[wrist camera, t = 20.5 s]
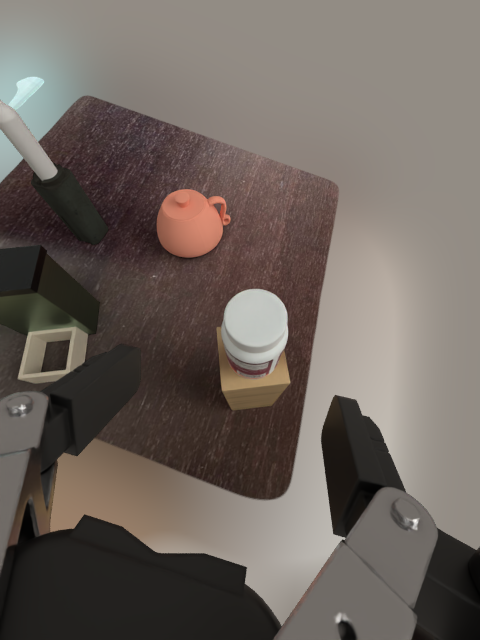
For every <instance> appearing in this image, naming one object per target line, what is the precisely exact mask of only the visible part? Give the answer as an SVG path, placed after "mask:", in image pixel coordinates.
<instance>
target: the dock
mask: <svg viewBox="0 0 480 640" xmlns="http://www.w3.org/2000/svg"><path fill="white" fill-rule="evenodd" d="M63 340H70V347H69V353H68V359H67V366H66V370H60V371H51V372H42V373H41V369H42V364H43V359H44V354H45V349H46V344H47V342H54V341H63ZM87 340H88V334H86V333H85V332H83V331H82V330H80V329H79V328H77V327H70V328H61V329H51V330H42V331H33V332H28V337H27V341H26V345H25V350H24V354H23V358H22V363H21V367H20V371H19V376H18V379H19V380H23V381H27V382H31V383H44V382H53V381H57V380H59V379H60V378H62V377H63V376H65V375H66V374H68V373H69V372H71V371H73V370H74V369H75V368H77V367H78V366H80V365H82V364H83V363H84V362H85V355H86V348H87Z"/></svg>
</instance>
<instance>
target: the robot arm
mask: <svg viewBox="0 0 480 640" xmlns="http://www.w3.org/2000/svg"><path fill="white" fill-rule="evenodd" d="M140 380H141V350H140V348H138V347H134V346H129V345H125V344H119V345H118V346H116V347H115V348H114V349H112V350H111V351H109V352H108V353H107V352H105V353H102V354H99V355H96V356H94V357H92V358H90V359H89V360H87V361H86V362H84V363H83V364H82V365H80V366H78V367H77V368H75V369H74V370H73V371H71V372H69V373H68V374H66V375H65V376H63V377H62V378H60V379H59V380H57V381H56V382H54V383H53V384H51V385H50V386H48V387H47V388H45V389H44V390H42V391H41V392H39V391H24V392H19V393H15V394H12V395H9V396H7V397H4V398H2V399H1V400H0V640H480V547H479V548H478V549H477V550H475V549H473V548H471V547H470V546H468V545H466V544H464V543H462V542H461V541H459V540H457V539H455V538H453V537H452V536H450V535H448V534H446V533H444V532H443V531H441V530H440V529H438V528H437V527H436V524H435V522H434V520H433V518H432V517H431V515H430V514H429V512H428V511H427V510H426V509H425V508H424V506H422V504H420V503H419V502H418V501H417V500H416V499H415V498H413V497H412V496H410V495H409V494H407V493H406V491H405V488H404V486H403V484H402V481H401V479H400V476H399V474H398V472H397V470H396V467H395V465H394V462H393V460H392V458H391V455H390V454H389V453H388V452H389V451H388V448H387V446H386V444H385V443H384V439H383V436H382V434H381V432H380V429H379V428H378V427H377V425H376V424H375V423H374V422H373V421H372V420H371V419H370V417H367V416H363V415H362V414H361V411H360V408H359V405H358V403H357V401H356V400H354V399H350V398H346V397H341V396H337V395H335V396H334V397H333V400H332V402H331V405H330V408H329V411H328V414H327V417H326V419H325V422H324V425H323V429H322V436H321V444H322V451H323V459H324V466H325V474H326V482H327V489H328V497H329V504H330V512H331V520H332V527H333V534H335V535H338V536H342V537H345V538H346V539H345V540H342V541H341V542H340V543H339V544H338V546H337V547H336V548H335V550H334V552H333V553H332V554H331V556H330V557H329V559H328V560H327V562H326V563H325V565H324V566H323V567H322V569H321V570H320V572H319V573H318V575H317V576H316V578H315V579H314V581H313V582H312V583H311V585H310V586H309V588H308V589H307V591H306V592H305V594H304V595H303V597H302V598H301V599H300V601H299V602H298V604H297V605H296V607H295V608H294V610H293V611H292V613H291V614H290V616H289V617H288V618H287V620H286V621H285V623H284V624H283V626H281V624H280V622H279V621H278V619H277V618H276V616H275V615H274V613H273V612H272V610H271V609H270V608H269V606H268V605H267V604H266V603H265V602H264V600H263V599H262V598H261V597H260V596H259V595H258V594H257V593H256V592H255V591H254V590H252V589H251V588H250V587H249V586H247V585H246V584H245V577H246V569H247V567H244V566H241V565H238V564H235V563H232V562H229V561H226V560H223V559H220V558H217V557H214V556H211V555H208V554H204V553H203V554H202V553H201V554H199V553H198V554H197V553H196V554H195V553H190V554H189V553H188V554H187V553H185V554H184V553H182V554H181V553H180V554H177V553H168V554H167V553H165V554H164V553H157V552H155V551H153V550H152V549H150V548H149V547H148V546H146V545H145V544H144V543H143V542H141V541H140V540H139V539H137V538H136V537H135V536H134V535H132V534H131V533H129V532H128V531H127V530H126V529H124V528H123V527H122V526H119V525H115V524H112V523H109V522H106V521H103V520H100V519H97V518H94V517H91V516H87V515H84V516H83V517H82V518H81V520H80V521H79V523H78V524H77V525H76V527H75V528H74V529H66V530H58V531H55V532H50V519H51V510H52V503H53V495H54V488H55V481H56V473H57V466H58V463H57V459H58V458H59V457H60V456H61V455H62V454H63V453H68V454H71V455H75V456H78V455H79V454H80V453H81V452H82V451H83V449H84V448H85V447H86V446H87V445H88V444H89V443H90V442H91V441H92V440H93V439H94V438H95V436H96V435H97V434H98V433H99V432H100V431H101V430H102V429H103V428H104V427H105V426H106V425H107V423H108V422H109V421H110V420H111V419H112V418H113V417H114V416H115V415H116V414H117V413H118V412H119V410H120V409H121V408H122V407H123V406H124V405H125V404H126V403H127V402H128V401H129V400H130V399H131V397H132V396H133V395H134V394H135V393H136V391H137V390H138V387H139V385H140Z"/></svg>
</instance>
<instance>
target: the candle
mask: <svg viewBox="0 0 480 640" xmlns="http://www.w3.org/2000/svg"><path fill="white" fill-rule="evenodd" d="M0 129H1V130H2V131H3V133H4V134H5V135H6V136H7V138H8V139H9V140H10V141H11V143H12V144H13V145H14V146H15V148H16V149H17V150H18V151H19V153H20V154H21V155H22V156H23V158H24V159H25V160H26V162H27V163H28V164H29V165H30V167H31V168H32V169H33V170H34V174H33V179H32V181H31V184H32V186H33V187H34V188H35V189H36V190H37V191H38V193H39V194H40V195H41V196H42V197H43V199H44V200H45V201H46V202H47V203H48V204H49V206H50V207H51V208H52V209H53V210H54V212H55V213H56V214H57V215H58V216H59V217H60V219H61V220H62V221H63V222H64V223H65V224H66V226H67V227H68V228H69V229H70V230H71V232H72V233H73V234H74V235H75V236H76V237H77V239H78V240H80V241H85V242H88V243H91V244H92V245H95V244H98V243H99V242H100V241H101V240H102V238H103V237H104V236H105V234H106V233H107V231H108V227H107V225H106V224H105V222H104V221H103V219H102V218H101V216H100V215H99V213H98V212H97V210H96V209H95V207H94V206H93V204H92V203H91V201H90V200H89V198H88V197H87V195H86V194H85V192H84V190H83V189H82V187H81V186H80V184H79V183H78V181H77V180H76V178H75V177H74V175H73V174H72V172H71V171H70V170H69V169H66V168H63V167H62V166H60V165H59V164H58V165H57V166H56V164H55V163H52V161H51V160H50V159H49V157H48V156H47V154H46V153H45V152H44V150H43V149H42V147H41V146H40V144H39V143H38V142H37V140H36V139H35V137H34V136H33V135H32V133H31V132H30V130H29V129H28V128H27V126H26V125H25V123H24V122H23V120H22V119H21V118H20V116H19V115H18V114H17V112H16V111H15V110H14V109H13V108H11V107H10V106H8V105H6V104H5V103H3V102H2V101H1V100H0Z"/></svg>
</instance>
